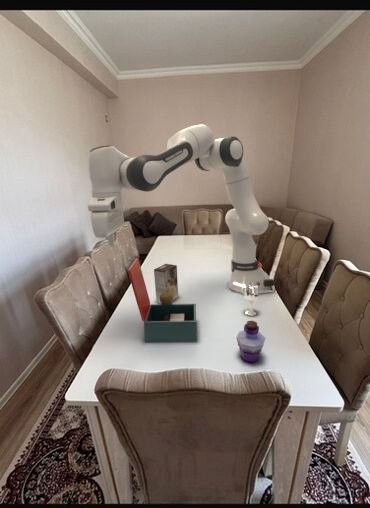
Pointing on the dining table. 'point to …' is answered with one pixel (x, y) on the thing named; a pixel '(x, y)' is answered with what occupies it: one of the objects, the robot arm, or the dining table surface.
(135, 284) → the lid
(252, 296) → the wineglass
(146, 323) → the lunchbox
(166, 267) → the coffee box
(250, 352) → the potion bottle
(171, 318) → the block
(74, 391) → the dining table surface
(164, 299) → the pepper shaker
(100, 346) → the dining table surface
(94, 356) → the dining table surface
